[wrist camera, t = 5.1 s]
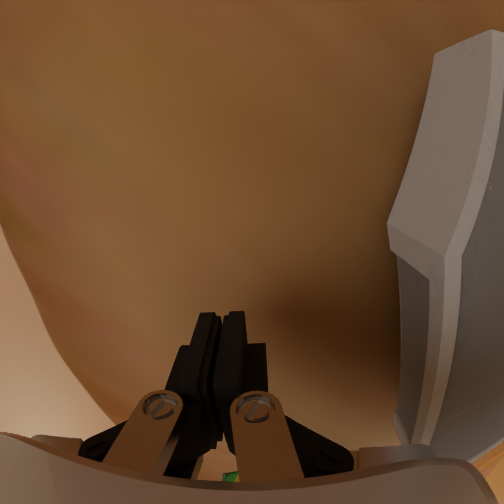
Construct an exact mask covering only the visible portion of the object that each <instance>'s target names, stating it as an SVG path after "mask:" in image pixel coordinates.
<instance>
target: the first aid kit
mask: <svg viewBox="0 0 504 504" xmlns="http://www.w3.org/2000/svg"><path fill="white" fill-rule="evenodd" d="M387 229H388V236H389V244H390V250H391V251H393V252H394V253H395V254H396V257H397V267H398V278H399V293H400V316H401V360H400V382H399V397H398V407H397V409H396V410H395V412H394V413H393V425H394V427H395V429H396V432H397V434H398V436H399V439H400V441H401V444H402V445H409V444H425V445H427V446H430V447H431V448H432V449H433V450H434V451H435V453H436V456H437V457H442V458H456V459H461V460H464V461H467V462H469V463H471V462H473V461H475V460H476V459H478V458H479V457H481V456H482V455H484V454H485V453H487V452H488V451H490V450H491V449H493V448H494V447H496V446H497V445H498V444H500V443H501V442H502V441H504V33H503V32H500V31H496V30H493V29H491V30H488V31H485V32H483V33H480V34H478V35H476V36H473V37H471V38H468V39H466V40H464V41H461V42H459V43H457V44H455V45H452V46H450V47H448V48H446V49H444V50H441V51H439V52H437V53H435V54H434V60H433V66H432V71H431V76H430V81H429V86H428V91H427V95H426V100H425V104H424V108H423V112H422V116H421V120H420V124H419V128H418V131H417V135H416V138H415V142H414V145H413V149H412V152H411V155H410V159H409V162H408V165H407V168H406V171H405V174H404V177H403V180H402V183H401V186H400V189H399V191H398V194H397V197H396V200H395V202H394V205H393V208H392V210H391V213H390V216H389V218H388V221H387Z"/></svg>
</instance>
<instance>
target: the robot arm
mask: <svg viewBox="0 0 504 504" xmlns="http://www.w3.org/2000/svg"><path fill="white" fill-rule="evenodd" d="M223 432H224V435H225V439H226V441H227V445H228V448H229V451H230V452H231V453H233V454H234V455H235V456H236V461H237V468H238V475H239V481H240V482H228V481H207V480H197V477H198V474H199V471H200V468H201V466H202V463H203V454H205V453H207V452H208V451H210V449H216V446H217V441H222V439H223ZM0 504H499V503H498V501H497V499H496V497H495V495H494V493H493V491H492V490H491V488H490V486H489V485H488V483H487V481H486V480H485V479H484V477H483V476H482V474H481V473H480V472H479V471H478V470H477V469H476V468H475V467H474V466H473V465H472V464H470V463H469V462H467V461H464V460H461V459H456V458H442V457H437V456H436V453H435V451H434V450H433V449H432V448H431V447H430V446H427V445H425V444H409V445H400V446H388V447H370V448H359V451H349V450H347V449H346V448H344V447H343V446H341V445H339V444H337V443H335V442H333V441H331V440H329V439H327V438H325V437H323V436H321V435H319V434H317V433H316V432H314V431H312V430H310V429H308V428H307V427H305V426H303V425H301V424H299V423H298V422H296V421H294V420H292V419H291V418H289V417H287V416H286V415H284V412H283V409H282V406H281V403H280V402H279V400H278V398H276V397H275V396H274V395H273V394H270V393H268V376H267V359H266V343H255V344H248V342H247V333H246V323H245V314H244V311H231V312H229V315H225V316H224V319H223V325H222V321H221V316H216V314H215V312H207V313H200V315H199V318H198V321H197V324H196V327H195V330H194V333H193V336H192V339H191V342H190V345H182V346H180V348H179V351H178V353H177V356H176V359H175V362H174V364H173V367H172V370H171V373H170V376H169V378H168V381H167V384H166V387H165V390H158V391H153V392H151V393H148V394H147V395H145V396H144V397H143V398H142V399H141V400H140V401H139V403H138V404H137V406H136V408H135V409H134V411H133V412H132V414H131V416H130V417H129V419H128V420H127V421H125V422H123V423H121V424H118V425H116V426H114V427H112V428H110V429H108V430H106V431H103V432H101V433H99V434H97V435H95V436H92V437H90V438H88V439H87V440H85V441H83V440H82V439H80V438H67V437H56V436H48V435H36V436H33V437H32V438H28V437H25V436H21V435H17V434H12V433H7V432H0Z"/></svg>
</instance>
